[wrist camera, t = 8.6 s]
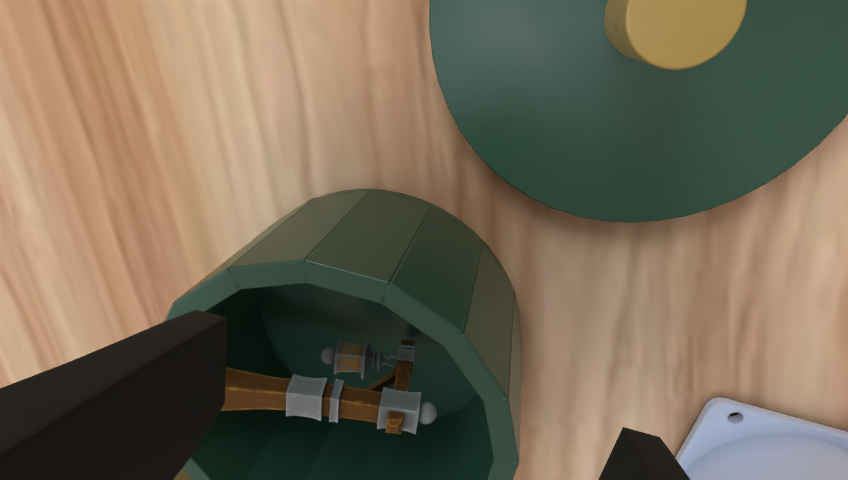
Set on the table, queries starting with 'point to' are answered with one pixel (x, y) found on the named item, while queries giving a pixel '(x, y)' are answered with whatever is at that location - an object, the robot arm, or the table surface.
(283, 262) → the tin
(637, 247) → the table surface
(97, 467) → the robot arm
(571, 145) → the lid
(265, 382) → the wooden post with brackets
